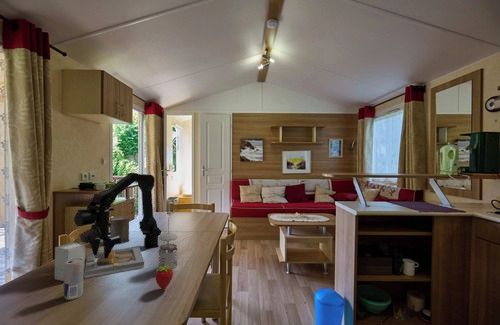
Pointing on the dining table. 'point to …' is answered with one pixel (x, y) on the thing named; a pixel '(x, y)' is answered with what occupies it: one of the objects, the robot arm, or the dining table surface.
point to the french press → (168, 257)
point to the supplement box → (67, 257)
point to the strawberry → (164, 276)
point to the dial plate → (96, 270)
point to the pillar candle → (120, 228)
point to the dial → (114, 258)
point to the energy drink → (73, 279)
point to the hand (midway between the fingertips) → (100, 256)
